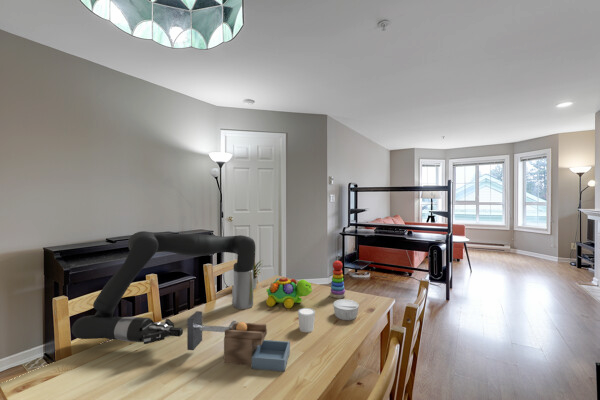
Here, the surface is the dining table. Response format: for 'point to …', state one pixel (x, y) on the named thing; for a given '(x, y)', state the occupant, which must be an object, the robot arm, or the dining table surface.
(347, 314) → the ramekin
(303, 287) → the turtle toy
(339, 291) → the stacking toy
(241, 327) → the ball
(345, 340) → the dining table surface
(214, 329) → the pusher
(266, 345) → the blue square tray
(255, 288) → the house plant
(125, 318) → the robot arm
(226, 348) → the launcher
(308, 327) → the white cup
